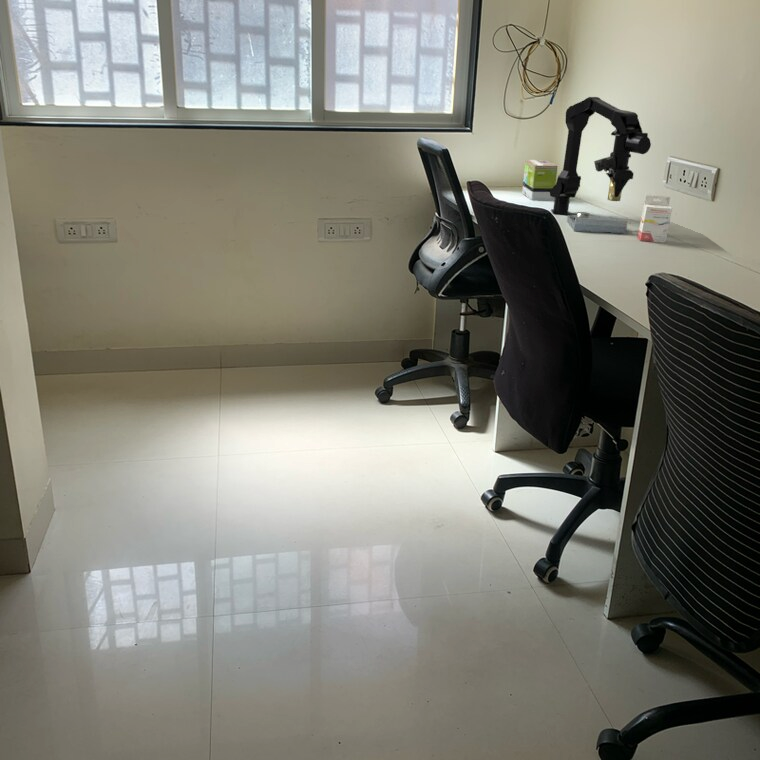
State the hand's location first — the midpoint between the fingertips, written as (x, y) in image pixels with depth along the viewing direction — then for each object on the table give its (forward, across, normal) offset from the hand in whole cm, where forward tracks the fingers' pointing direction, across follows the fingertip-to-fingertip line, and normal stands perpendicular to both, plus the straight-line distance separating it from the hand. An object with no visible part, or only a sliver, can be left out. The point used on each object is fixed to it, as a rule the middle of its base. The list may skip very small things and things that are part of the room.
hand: (614, 195), depth 276 cm
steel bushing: (+12, 0, -10) cm, 15 cm away
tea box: (+12, -56, -19) cm, 60 cm away
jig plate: (+12, 0, -5) cm, 13 cm away
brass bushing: (+2, 0, 0) cm, 2 cm away
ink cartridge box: (+12, +16, +11) cm, 23 cm away
